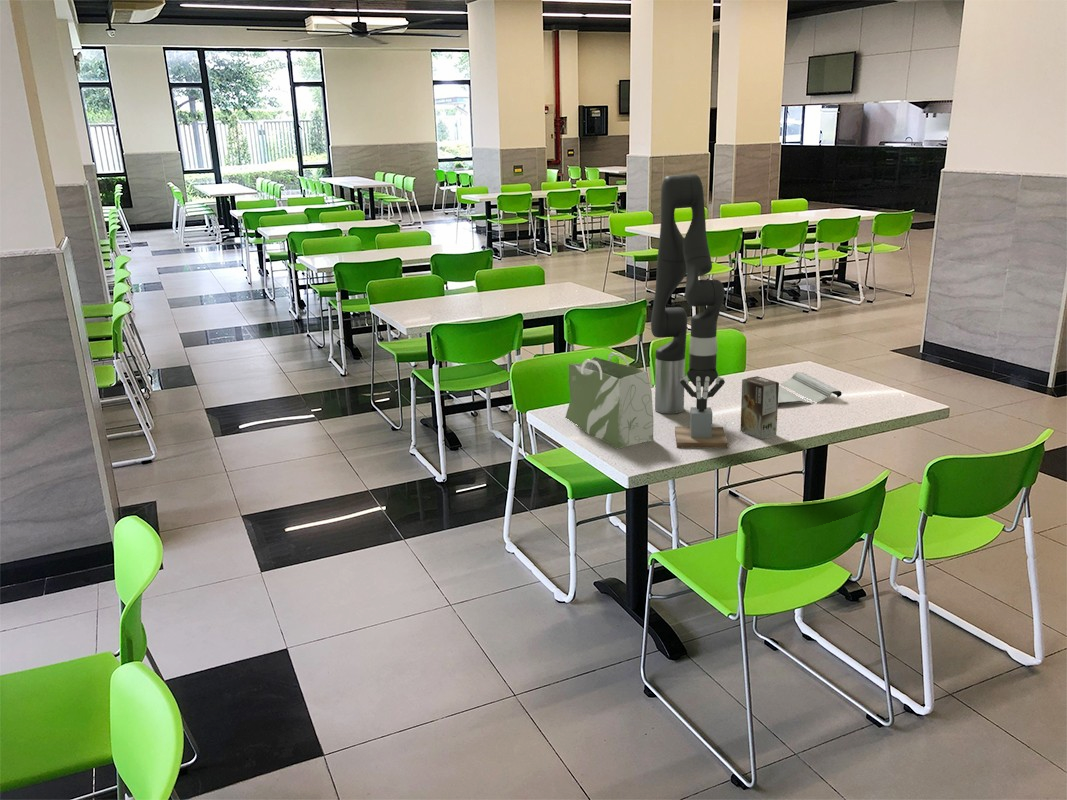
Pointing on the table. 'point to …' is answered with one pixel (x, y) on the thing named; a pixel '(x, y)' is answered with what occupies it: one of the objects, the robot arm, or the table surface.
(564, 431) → the table surface
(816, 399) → the mat
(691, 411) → the slate grey cube
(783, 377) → the table surface
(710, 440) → the flat brown square board
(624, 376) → the grocery bag
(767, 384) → the coffee box
